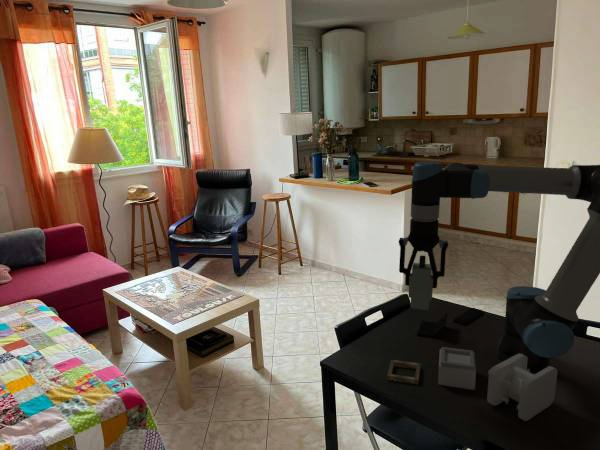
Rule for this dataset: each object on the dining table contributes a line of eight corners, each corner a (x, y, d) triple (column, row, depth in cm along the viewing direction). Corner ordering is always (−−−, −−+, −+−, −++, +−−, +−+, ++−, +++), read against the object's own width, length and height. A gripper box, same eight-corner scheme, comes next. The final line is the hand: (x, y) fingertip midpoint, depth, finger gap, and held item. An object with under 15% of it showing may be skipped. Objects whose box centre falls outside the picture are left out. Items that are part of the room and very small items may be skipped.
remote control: (471, 311, 177) (452, 322, 167) (472, 307, 176) (452, 318, 167) (483, 315, 173) (464, 326, 163) (484, 310, 173) (464, 322, 163)
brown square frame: (420, 367, 138) (420, 363, 138) (418, 384, 130) (418, 380, 130) (391, 363, 141) (391, 359, 141) (387, 380, 133) (387, 375, 133)
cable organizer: (521, 427, 111) (525, 386, 108) (484, 405, 120) (487, 367, 117) (554, 405, 119) (559, 366, 116) (517, 386, 128) (520, 349, 125)
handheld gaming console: (416, 318, 167) (433, 301, 163) (431, 329, 168) (449, 312, 163) (415, 337, 157) (434, 319, 153) (432, 348, 157) (451, 331, 153)
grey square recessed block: (473, 370, 136) (474, 350, 134) (474, 389, 126) (476, 368, 125) (439, 366, 139) (439, 345, 137) (438, 384, 130) (438, 363, 128)
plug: (429, 303, 131) (432, 254, 127) (428, 310, 126) (431, 259, 122) (411, 301, 132) (414, 252, 128) (410, 308, 128) (412, 258, 124)
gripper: (459, 217, 123) (453, 295, 129) (393, 213, 129) (390, 288, 135) (459, 223, 116) (453, 305, 122) (389, 219, 122) (387, 298, 128)
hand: (420, 296), depth 128 cm, fingers closed on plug, 5 cm apart
